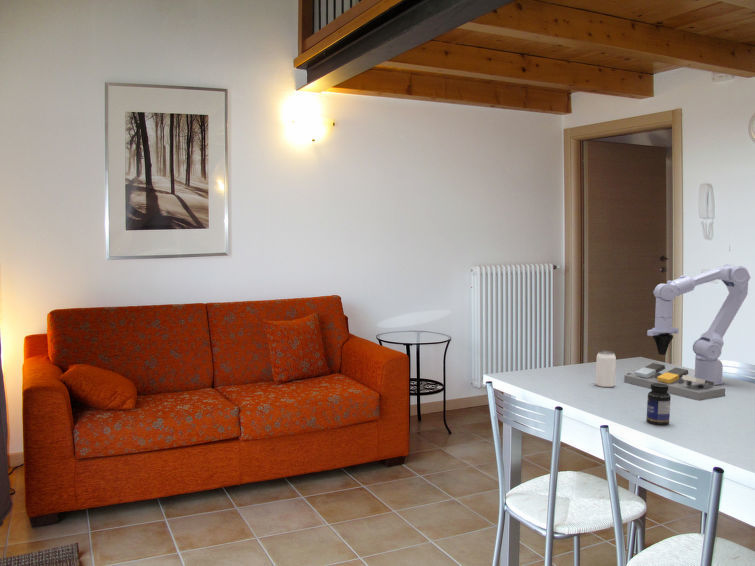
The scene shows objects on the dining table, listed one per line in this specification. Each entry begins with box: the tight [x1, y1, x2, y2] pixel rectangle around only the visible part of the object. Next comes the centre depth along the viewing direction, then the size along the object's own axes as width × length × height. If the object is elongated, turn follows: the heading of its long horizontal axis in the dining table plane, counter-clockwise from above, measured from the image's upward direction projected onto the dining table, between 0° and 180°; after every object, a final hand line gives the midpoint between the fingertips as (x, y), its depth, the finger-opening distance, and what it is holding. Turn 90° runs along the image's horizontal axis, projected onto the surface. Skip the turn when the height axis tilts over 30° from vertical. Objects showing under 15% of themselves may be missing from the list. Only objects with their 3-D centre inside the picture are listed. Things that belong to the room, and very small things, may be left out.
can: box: [595, 350, 617, 389], centre depth 243 cm, size 6×6×12 cm
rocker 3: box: [682, 375, 715, 386], centre depth 232 cm, size 10×5×1 cm, turn 121°
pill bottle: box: [646, 383, 671, 426], centre depth 197 cm, size 6×6×11 cm
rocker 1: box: [634, 362, 666, 378], centre depth 248 cm, size 10×5×1 cm, turn 119°
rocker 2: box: [657, 367, 689, 383], centre depth 240 cm, size 10×5×1 cm, turn 119°
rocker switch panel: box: [623, 372, 726, 401], centre depth 242 cm, size 14×35×4 cm, turn 30°
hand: (662, 354), depth 248 cm, fingers closed
